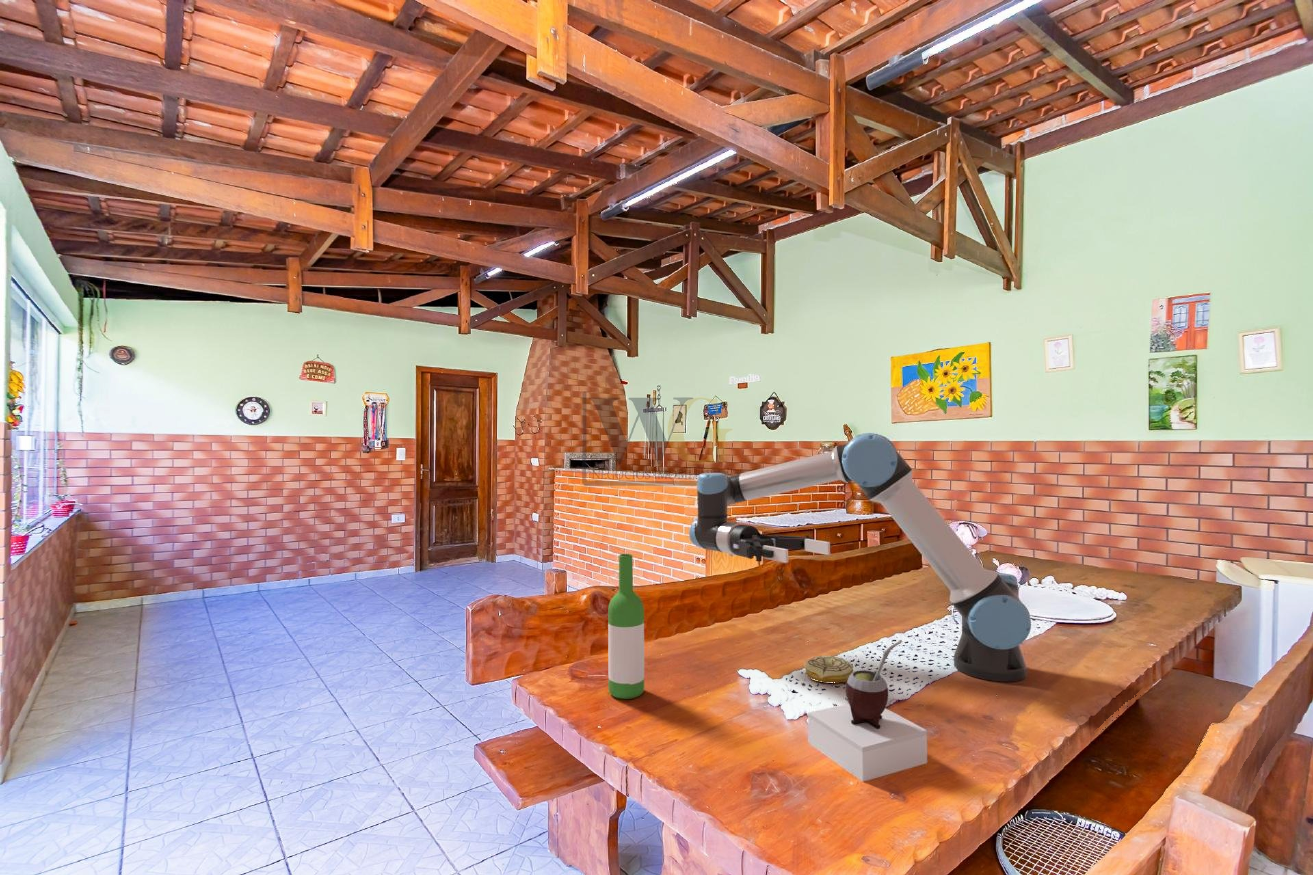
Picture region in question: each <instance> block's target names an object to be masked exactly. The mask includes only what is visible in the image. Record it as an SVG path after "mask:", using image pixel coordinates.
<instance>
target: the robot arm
mask: <svg viewBox="0 0 1313 875" xmlns="http://www.w3.org/2000/svg"><path fill="white" fill-rule="evenodd" d="M913 473H914V470H913V468H912V467H911V466H910V464H908V463H907V461H906V460H905V459H904V458H903V456H902V455H901V454H900V452H898V450H897V449H896V447H895V445H894V444H893V442H892V441H891V440H890V439H889V438H887V437H885V436H883V435H881V434H878V433H874V432H866V433H861V434H859V435H856V436H855V437H853V438H852V439H851V440H850V441H849V442H847V443H843V444H839V445H836V446H835V447H834V448H833V450H831V451H828V452H827V451H826V452H824V453H819V454H815V455H811V456H807V457H802V458H799V459H795V460H791V461H790V460H789V461H787V462H782V463H778V464H774V465H770V466H766V467H762V468H757V469H755V470H751V471H746V472H742V473H738V474H733V475H729V476H727V475H726V474H725V473H723V472H704V473H700V474H698V476H697V484H696V490H697V495H696V496H697V519H695V520H694V521H692V523H691V526H690V528H689V530H688V535H689V539H690V541H691V543H692V544H693V545H694V546H696V547H697V548H702V549H704V550H708V551H714V552H720V553H724V554H729V556H730V557H734V556H738V557H742V558H747V559H750V560H752V559H754V557H755V561H756V562H762V561H763V559H765V560H770V561H775V562H779V563H784V564H787V563H789V550H804V551H805V552H809V553H814V554H821V555H826V556H829V555H831V542H830V541H824V540H816V539H812V538H813V537H811V536H810V535H809V534H806V535H805V536H795V535H779V534H775V533H773V534H771V535H770V534H766V533H760V531H759V529H758V528H757V527H755V526H753V525H746V524H741V523H736V522H729V521H728V506H731V505H734V504H741V503H744V502H748V501H751V500H757V499H761V498H765V497H771V496H774V495H779V494H783V493H789V492H792V491H796V490H800V489H804V488H805V489H806V488H810V487H814V486H819V485H823V484H828V483H832V482H837V481H842V482H843V483H844V484H845V483H846V484H847V483H850V482H853V483H855V484H856V485H857V487H859V488H860V490H861V491H862V492H863V494H864V495H865V496H866V497H867V498H868V500H869V501H870V502H876V503H880V504H881V506H883V508H884V509H885V510H886V511H887V513H888V514H889V515H890V516H891V518H892V519H893V520H894V522H895V523H896V524H897V525H898V527H899V528H900V529H901V531H902V532H903V533H904V534H905V536H906V537H907V538H908V540H910V542H911V543H912V544H913V546H914V547H915V548H916V549H917V551H918V552H919V553H920V554H921V555H922V557H923V558H924V559H925V561H927V563H928V564H929V566H930V567H931V568H932V570H933V571H934V572H935V573H936V575H937V576H938V577H939V578H940V579H941V580H942V582H943V584H944V585H945V586H946V587H947V588H948V589H949V591H950V595H949V601H950V603H951V604H952V605H953V607H954V608H955V609H956V611H957V612H958V613H959V614H960V616H961V635H960V637H959V641H958V643H957V645H956V649H955V651H954V655H953V666H954V667H955V669H956V670H958V671H959V672H961V673H963V674H965V675H967V676H970V677H972V678H973V677H974V678H977V679H980V680H987V681H991V682H992V681H993V682H1006V683H1007V682H1008V683H1009V682H1010V683H1011V682H1017V681H1022V680H1024V679H1025V678H1027V664H1026V660H1025V658H1024V656H1023V652H1022V649H1021V646H1020V645H1021V644H1023V642H1025V641H1026V639H1027V638H1029V635H1030V633H1031V629H1032V621H1031V615H1030V614H1031V613H1030V612H1029V609H1028V608H1027V607H1026V606H1025V604H1024V603H1023V602H1022V600H1021V599H1020V598H1019V596H1018V588H1019V584H1018V579H1017V577H1016V576H1015V575H1013V574H1011V573H1006V572H1005V573H1003V572H997V570H991V569H986V568H984V567H983V565H982V564H981V563H980V561H979V560H978V559H977V558H976V557H975V555H974V554H973V553H972V552H971V550H970V549H969V548H968V547H967V545H965V543H964V542H963V541H962V539H961V538H960V537H959V536H958V535H957V533H956V532H955V530H953V529H952V527H951V526H950V525H949V523H948V522H947V521H946V520H945V519H944V517H943V516H942V514H941V513H939V511H938V510H937V508H935V506H934V505H933V503H931V502H930V500H929V499H928V498H927V496H925V494H924V493H923V492H922V491H921V489H920V488H919V487H918V486H917V484H916V483H915V482H914V480H913V475H914V474H913Z"/></svg>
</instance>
